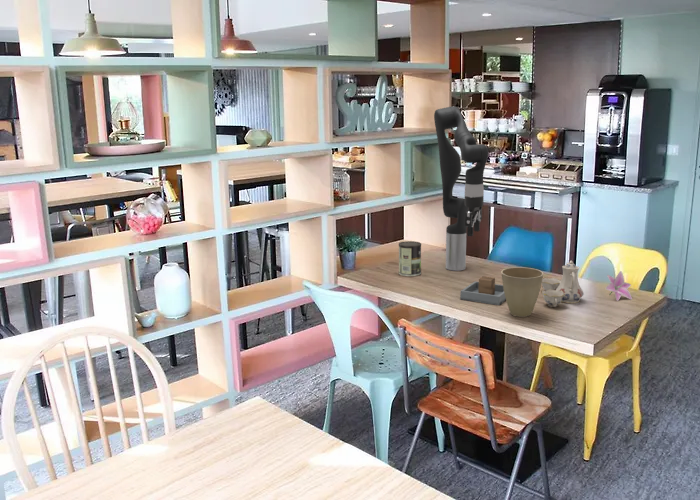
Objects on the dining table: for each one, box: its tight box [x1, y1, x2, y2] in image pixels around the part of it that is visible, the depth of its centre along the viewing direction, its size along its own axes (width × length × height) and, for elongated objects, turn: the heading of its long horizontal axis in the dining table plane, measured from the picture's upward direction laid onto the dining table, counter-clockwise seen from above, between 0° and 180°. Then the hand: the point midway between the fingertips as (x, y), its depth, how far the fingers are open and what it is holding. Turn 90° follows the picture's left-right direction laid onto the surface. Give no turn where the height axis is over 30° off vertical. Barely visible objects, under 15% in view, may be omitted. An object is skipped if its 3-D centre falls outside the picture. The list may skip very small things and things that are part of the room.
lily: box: [605, 270, 633, 302], centre depth 262 cm, size 12×12×10 cm
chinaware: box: [541, 260, 585, 308], centre depth 259 cm, size 28×17×17 cm, turn 171°
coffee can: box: [398, 240, 422, 277], centre depth 301 cm, size 10×10×14 cm
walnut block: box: [478, 275, 496, 295], centre depth 264 cm, size 5×5×7 cm
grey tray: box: [459, 280, 506, 306], centre depth 265 cm, size 16×16×4 cm
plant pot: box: [500, 266, 544, 318], centre depth 243 cm, size 15×15×16 cm
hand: (473, 233), depth 270 cm, fingers open, 8 cm apart
